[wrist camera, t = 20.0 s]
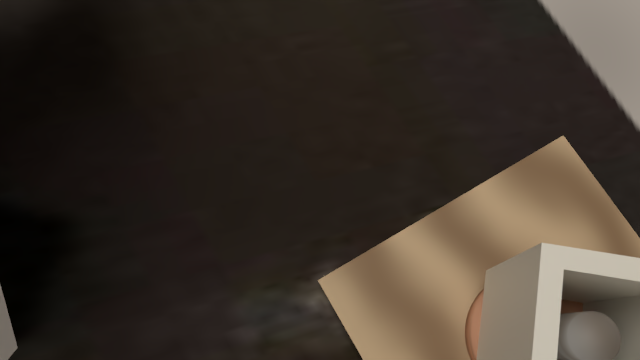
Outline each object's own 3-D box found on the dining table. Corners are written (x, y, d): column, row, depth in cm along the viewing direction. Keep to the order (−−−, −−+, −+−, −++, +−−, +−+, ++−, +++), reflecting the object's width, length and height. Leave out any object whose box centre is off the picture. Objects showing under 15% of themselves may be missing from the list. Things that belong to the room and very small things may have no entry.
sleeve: (593, 408, 35) (709, 446, 23) (473, 385, 36) (527, 411, 24) (600, 289, 36) (711, 269, 25) (486, 270, 37) (541, 242, 26)
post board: (479, 563, 37) (540, 683, 24) (319, 282, 42) (300, 260, 29) (742, 394, 38) (929, 425, 26) (556, 141, 43) (636, 63, 30)
